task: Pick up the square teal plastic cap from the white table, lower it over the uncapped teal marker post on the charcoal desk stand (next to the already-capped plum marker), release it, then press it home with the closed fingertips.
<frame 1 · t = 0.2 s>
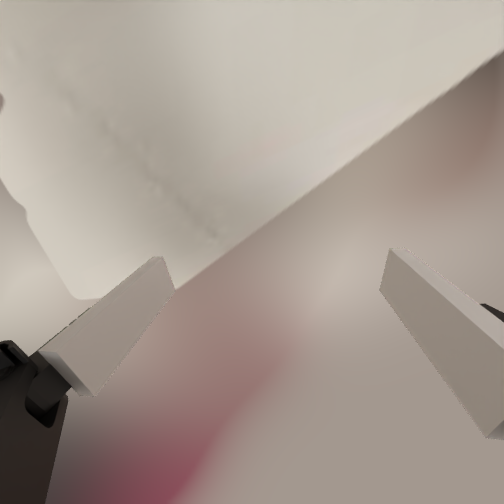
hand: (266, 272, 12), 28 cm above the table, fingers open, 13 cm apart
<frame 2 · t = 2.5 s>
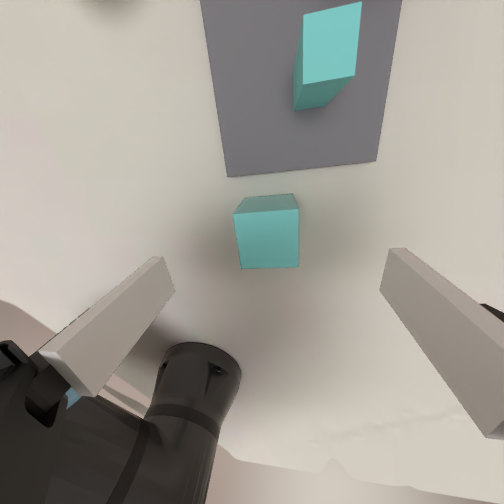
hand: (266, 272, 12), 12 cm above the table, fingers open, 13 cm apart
stand: (295, 48, 15), on the table
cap: (270, 218, 22), on the table
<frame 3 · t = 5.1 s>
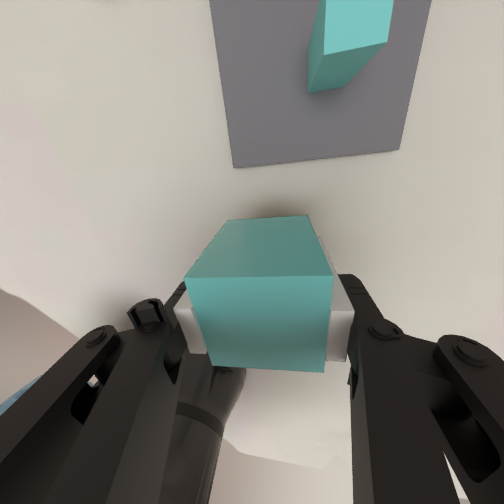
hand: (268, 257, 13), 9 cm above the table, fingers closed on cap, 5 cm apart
stand: (312, 19, 14), on the table
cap: (268, 253, 13), point 8 cm above the table, touching gripper
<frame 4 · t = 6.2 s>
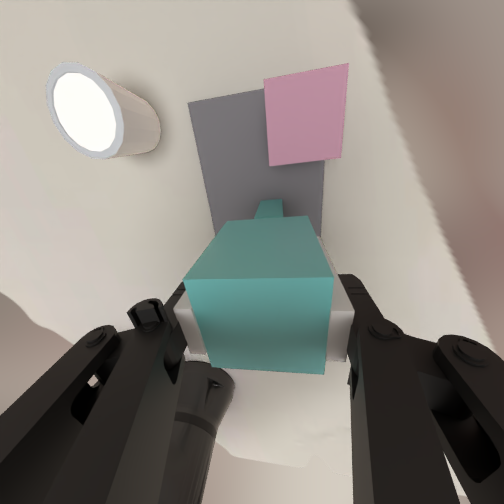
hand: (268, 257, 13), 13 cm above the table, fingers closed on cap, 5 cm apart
shot glass: (139, 125, 23), on the table
stand: (262, 184, 24), on the table
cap: (268, 253, 13), point 13 cm above the table, touching gripper
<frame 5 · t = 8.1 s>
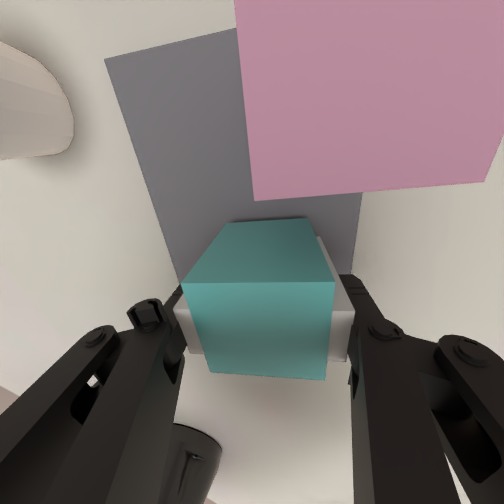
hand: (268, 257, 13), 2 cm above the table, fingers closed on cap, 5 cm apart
shot glass: (36, 107, 13), on the table
stand: (252, 209, 14), on the table
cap: (268, 256, 13), point 2 cm above the table, touching gripper, stand
when the fingers open (2 cm above the table, at t = 8.1 s): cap stays where it is, resting on stand.
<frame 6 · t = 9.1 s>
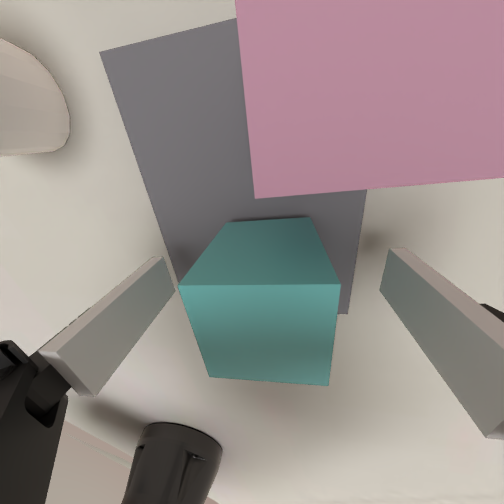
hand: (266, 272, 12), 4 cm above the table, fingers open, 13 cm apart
shot glass: (31, 103, 13), on the table
stand: (253, 208, 14), on the table
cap: (269, 256, 13), point 2 cm above the table, touching stand
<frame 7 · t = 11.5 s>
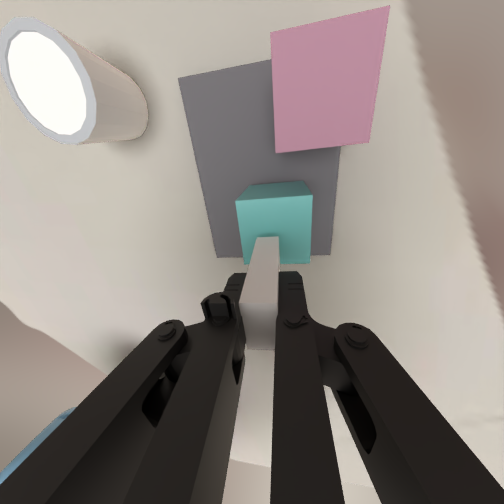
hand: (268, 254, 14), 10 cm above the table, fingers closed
shot glass: (123, 107, 19), on the table
stand: (266, 178, 20), on the table
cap: (276, 209, 20), point 2 cm above the table, touching stand
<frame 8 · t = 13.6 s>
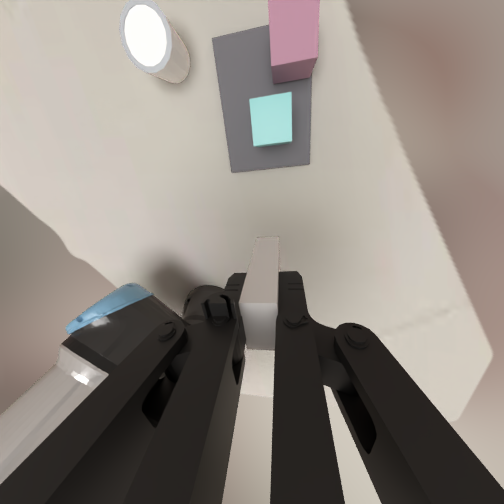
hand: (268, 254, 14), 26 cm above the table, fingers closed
shot glass: (173, 61, 30), on the table
stand: (265, 108, 31), on the table
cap: (273, 126, 30), point 2 cm above the table, touching stand
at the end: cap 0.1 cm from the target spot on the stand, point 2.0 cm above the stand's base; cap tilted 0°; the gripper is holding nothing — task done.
